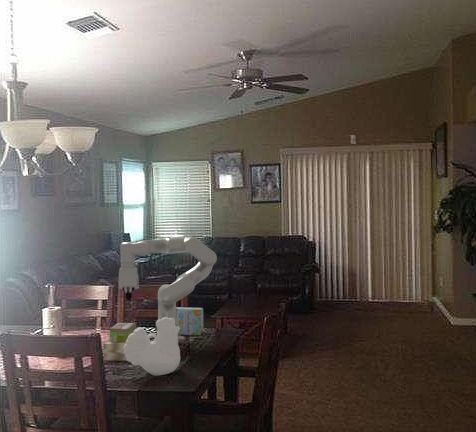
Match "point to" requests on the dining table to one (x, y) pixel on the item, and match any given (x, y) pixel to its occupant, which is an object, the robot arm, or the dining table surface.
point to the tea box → (121, 331)
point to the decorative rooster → (155, 348)
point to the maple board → (114, 351)
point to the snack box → (189, 320)
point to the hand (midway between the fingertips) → (129, 299)
